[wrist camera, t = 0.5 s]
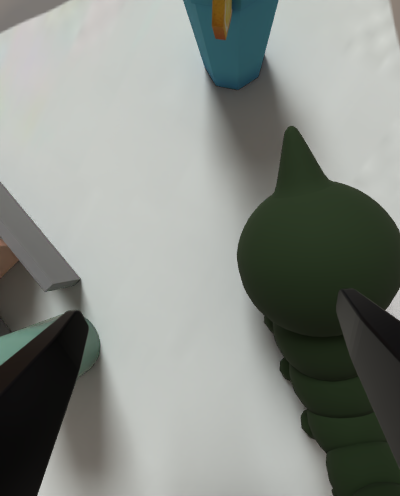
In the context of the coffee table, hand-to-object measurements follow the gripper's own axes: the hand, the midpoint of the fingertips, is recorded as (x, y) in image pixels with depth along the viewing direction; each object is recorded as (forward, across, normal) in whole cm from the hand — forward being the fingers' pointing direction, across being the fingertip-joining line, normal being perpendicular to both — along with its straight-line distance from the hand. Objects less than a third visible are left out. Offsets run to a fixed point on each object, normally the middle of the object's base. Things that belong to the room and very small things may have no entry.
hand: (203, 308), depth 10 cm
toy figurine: (+10, -7, +12) cm, 17 cm away
